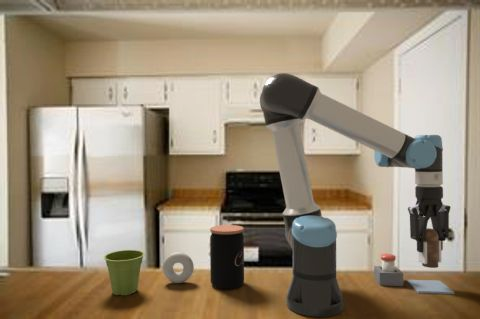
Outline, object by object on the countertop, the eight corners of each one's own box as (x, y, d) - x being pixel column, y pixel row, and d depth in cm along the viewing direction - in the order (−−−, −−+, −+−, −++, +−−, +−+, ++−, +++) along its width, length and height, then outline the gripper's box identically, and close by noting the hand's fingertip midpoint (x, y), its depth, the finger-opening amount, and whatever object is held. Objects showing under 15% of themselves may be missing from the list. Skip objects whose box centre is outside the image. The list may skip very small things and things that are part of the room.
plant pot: (95, 295, 109) (94, 257, 108) (125, 282, 119) (124, 248, 119) (124, 302, 103) (124, 262, 103) (153, 288, 114) (152, 252, 113)
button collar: (379, 285, 114) (379, 272, 114) (374, 278, 121) (374, 265, 121) (403, 286, 114) (403, 273, 114) (396, 278, 121) (396, 266, 121)
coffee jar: (240, 291, 110) (240, 232, 110) (206, 289, 112) (205, 230, 112) (247, 280, 121) (246, 225, 121) (215, 278, 123) (215, 224, 123)
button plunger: (382, 280, 116) (382, 257, 116) (379, 276, 120) (379, 253, 120) (397, 281, 115) (397, 257, 115) (393, 276, 119) (393, 254, 119)
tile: (418, 293, 108) (418, 290, 108) (406, 281, 118) (406, 279, 118) (454, 294, 107) (454, 292, 107) (439, 282, 117) (439, 280, 117)
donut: (161, 285, 116) (161, 253, 116) (163, 281, 120) (163, 251, 120) (193, 284, 117) (193, 253, 117) (194, 280, 120) (194, 250, 120)
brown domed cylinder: (425, 267, 110) (424, 229, 110) (418, 263, 115) (418, 226, 115) (441, 268, 110) (441, 229, 110) (435, 263, 114) (434, 226, 114)
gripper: (412, 187, 106) (413, 268, 107) (462, 185, 110) (463, 262, 111) (396, 185, 114) (397, 260, 114) (443, 183, 118) (444, 256, 118)
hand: (430, 261), depth 112 cm, fingers closed on brown domed cylinder, 4 cm apart
